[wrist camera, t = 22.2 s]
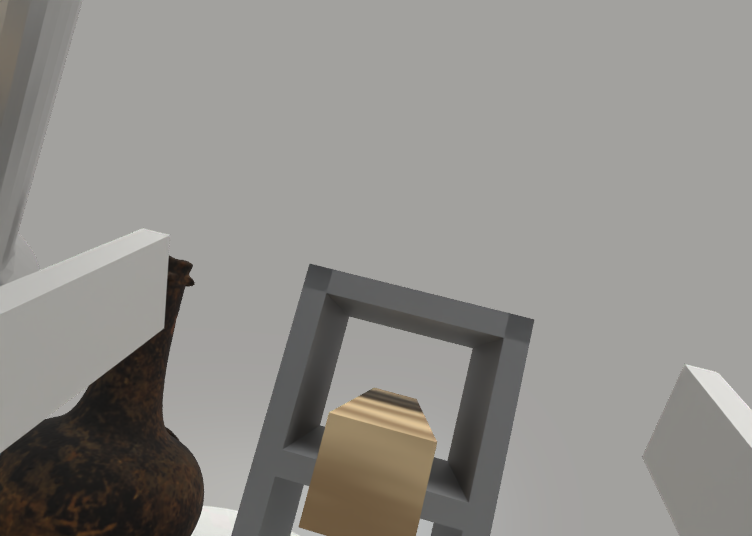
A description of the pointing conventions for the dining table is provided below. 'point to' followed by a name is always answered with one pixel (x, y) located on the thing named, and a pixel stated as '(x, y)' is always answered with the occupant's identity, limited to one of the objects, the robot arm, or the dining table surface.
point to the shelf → (314, 376)
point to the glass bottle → (108, 454)
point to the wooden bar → (371, 468)
